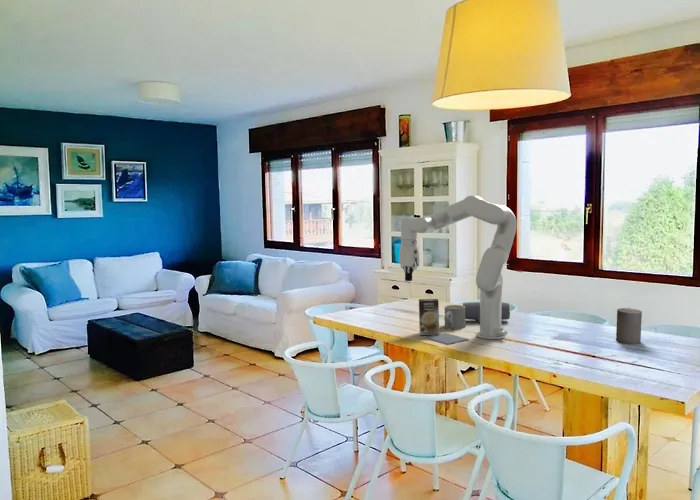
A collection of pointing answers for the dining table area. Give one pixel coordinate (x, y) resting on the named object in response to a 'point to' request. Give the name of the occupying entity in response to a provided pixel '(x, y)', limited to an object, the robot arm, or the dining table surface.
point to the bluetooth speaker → (474, 311)
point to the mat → (446, 338)
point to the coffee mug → (454, 316)
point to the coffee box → (429, 316)
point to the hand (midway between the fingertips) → (408, 280)
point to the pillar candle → (628, 326)
